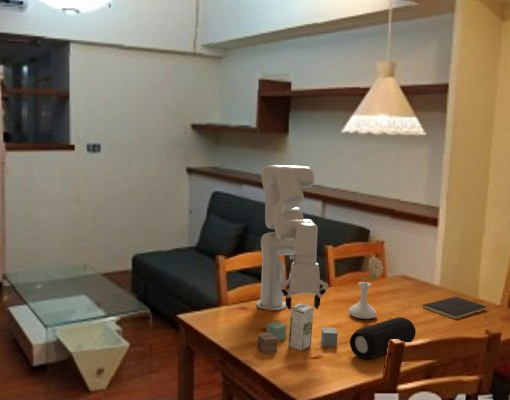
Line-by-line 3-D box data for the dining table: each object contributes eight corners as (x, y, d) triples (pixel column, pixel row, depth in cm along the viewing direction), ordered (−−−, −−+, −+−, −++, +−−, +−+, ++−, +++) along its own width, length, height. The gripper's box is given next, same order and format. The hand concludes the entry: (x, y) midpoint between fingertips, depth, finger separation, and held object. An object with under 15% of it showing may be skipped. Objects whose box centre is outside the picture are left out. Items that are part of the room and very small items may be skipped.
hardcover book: (486, 311, 231) (487, 306, 231) (455, 320, 218) (455, 315, 218) (454, 300, 244) (454, 296, 244) (422, 308, 231) (423, 303, 230)
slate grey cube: (320, 340, 190) (321, 327, 190) (334, 341, 190) (335, 328, 190) (322, 346, 185) (323, 332, 185) (336, 347, 185) (337, 333, 185)
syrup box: (297, 341, 188) (299, 302, 186) (311, 346, 184) (313, 306, 182) (288, 346, 184) (290, 306, 182) (302, 351, 180) (304, 310, 178)
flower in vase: (356, 322, 210) (360, 260, 206) (343, 312, 221) (347, 253, 217) (385, 320, 213) (390, 259, 210) (371, 310, 224) (376, 252, 221)
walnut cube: (257, 348, 181) (257, 334, 181) (270, 346, 183) (271, 332, 183) (263, 354, 177) (264, 340, 176) (276, 352, 179) (277, 338, 178)
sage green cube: (265, 337, 191) (266, 324, 190) (276, 334, 194) (276, 321, 194) (275, 342, 187) (275, 328, 187) (285, 339, 190) (286, 325, 190)
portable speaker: (369, 365, 172) (371, 335, 171) (346, 354, 180) (348, 326, 178) (416, 347, 188) (418, 320, 186) (393, 338, 195) (395, 312, 194)
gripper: (282, 261, 175) (280, 311, 177) (332, 261, 177) (330, 311, 179) (277, 256, 182) (275, 304, 184) (326, 256, 185) (323, 304, 187)
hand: (302, 307), depth 182 cm, fingers open, 9 cm apart
